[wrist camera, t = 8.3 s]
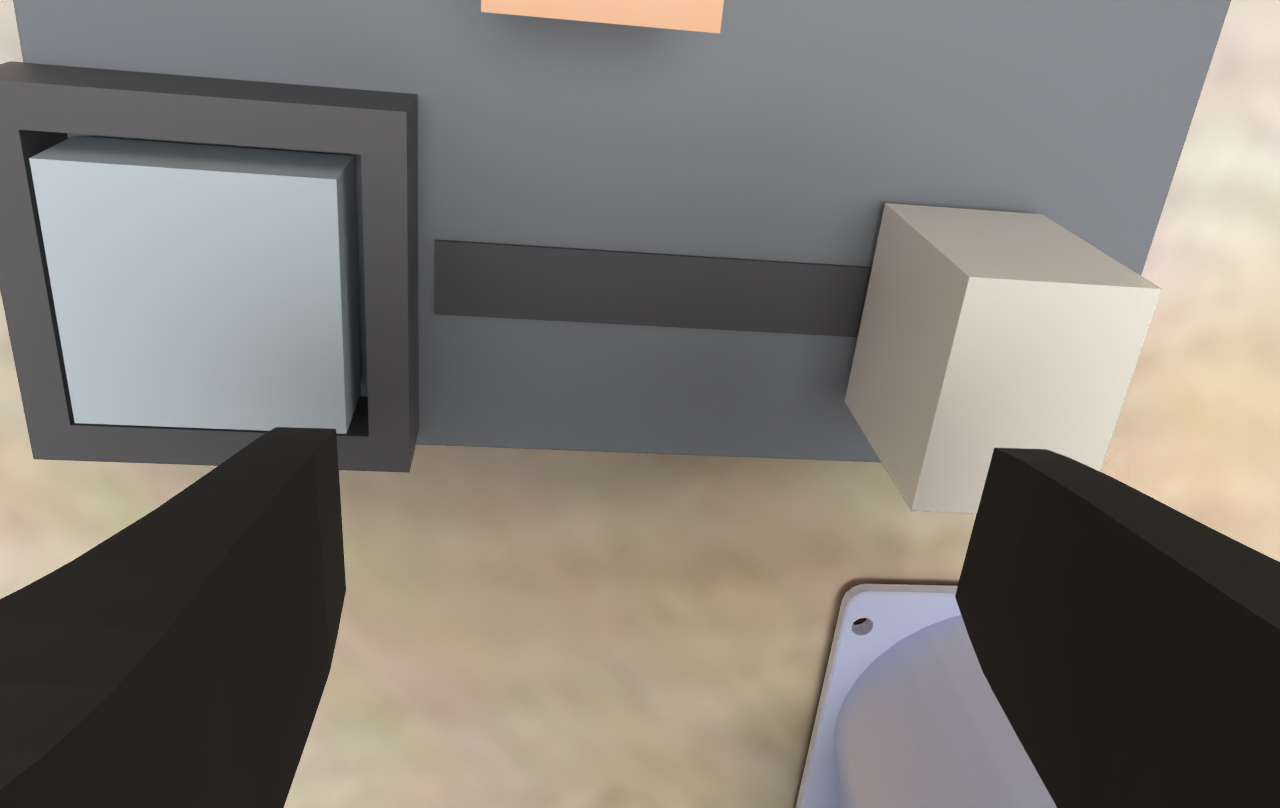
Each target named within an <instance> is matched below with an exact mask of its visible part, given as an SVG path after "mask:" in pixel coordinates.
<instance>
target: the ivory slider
mask: <svg viewBox="0 0 1280 808" xmlns="http://www.w3.org/2000/svg"><path fill="white" fill-rule="evenodd" d="M1161 290H1162V289H1161V288H1159V287H1158V286H1156V285H1155V284H1153V283H1151V282H1150V281H1148V280H1147V279H1145V278H1143V277H1142V276H1140V275H1139V274H1137V273H1135V272H1134V271H1132V270H1131V269H1129V268H1127V267H1126V266H1124V265H1123V264H1121V263H1119V262H1118V261H1116V260H1115V259H1113V258H1111V257H1110V256H1108V255H1107V254H1105V253H1103V252H1102V251H1100V250H1099V249H1097V248H1095V247H1094V246H1092V245H1091V244H1089V243H1087V242H1086V241H1084V240H1083V239H1081V238H1079V237H1078V236H1076V235H1075V234H1073V233H1071V232H1070V231H1068V230H1067V229H1065V228H1063V227H1062V226H1060V225H1059V224H1057V223H1055V222H1054V221H1052V220H1051V219H1049V218H1047V217H1046V216H1044V215H1043V214H1032V213H1018V212H1004V211H990V210H976V209H962V208H948V207H934V206H920V205H906V204H892V203H885V206H884V211H883V216H882V221H881V226H880V230H879V235H878V240H877V245H876V250H875V255H874V260H873V265H872V270H871V275H870V280H869V284H868V289H867V294H866V299H865V304H864V309H863V314H862V319H861V324H860V329H859V334H858V338H857V343H856V348H855V353H854V358H853V363H852V368H851V373H850V378H849V383H848V388H847V392H846V397H845V403H846V405H847V406H848V408H849V410H850V411H851V413H852V415H853V416H854V418H855V420H856V421H857V423H858V425H859V426H860V428H861V429H862V431H863V433H864V434H865V436H866V438H867V439H868V441H869V443H870V444H871V446H872V448H873V449H874V451H875V452H876V454H877V456H878V457H879V459H880V461H881V462H882V464H883V466H884V467H885V469H886V471H887V472H888V474H889V475H890V477H891V479H892V480H893V482H894V484H895V485H896V487H897V489H898V490H899V492H900V494H901V495H902V497H903V498H904V500H905V502H906V503H907V505H908V507H909V508H910V510H911V511H924V512H955V513H977V511H978V507H979V504H980V500H981V496H982V492H983V489H984V485H985V481H986V477H987V473H988V470H989V466H990V462H991V458H992V454H993V451H994V448H1021V449H1047V450H1050V451H1053V452H1055V453H1058V454H1061V455H1064V456H1066V457H1069V458H1071V459H1073V460H1076V461H1078V462H1080V463H1082V464H1085V465H1087V466H1089V467H1091V468H1093V469H1095V470H1097V471H1100V470H1101V467H1102V464H1103V461H1104V458H1105V455H1106V452H1107V449H1108V446H1109V443H1110V441H1111V438H1112V435H1113V432H1114V429H1115V426H1116V423H1117V420H1118V417H1119V414H1120V411H1121V408H1122V405H1123V402H1124V399H1125V396H1126V393H1127V390H1128V387H1129V385H1130V382H1131V379H1132V376H1133V373H1134V370H1135V367H1136V364H1137V361H1138V358H1139V355H1140V352H1141V349H1142V346H1143V343H1144V340H1145V337H1146V334H1147V331H1148V329H1149V326H1150V323H1151V320H1152V317H1153V314H1154V311H1155V308H1156V305H1157V302H1158V299H1159V296H1160V293H1161Z"/></svg>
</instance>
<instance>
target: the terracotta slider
mask: <svg viewBox="0 0 1280 808" xmlns="http://www.w3.org/2000/svg"><path fill="white" fill-rule="evenodd" d="M723 4H724V0H481V12H488V13H499V14H510V15H521V16H532V17H543V18H554V19H565V20H576V21H587V22H598V23H609V24H621V25H632V26H643V27H654V28H665V29H676V30H687V31H698V32H709V33H720V29H721V21H722V12H723Z"/></svg>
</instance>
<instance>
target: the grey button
mask: <svg viewBox="0 0 1280 808" xmlns="http://www.w3.org/2000/svg"><path fill="white" fill-rule="evenodd" d="M29 160H30V166H31V172H32V178H33V184H34V189H35V195H36V201H37V207H38V213H39V218H40V224H41V230H42V236H43V242H44V248H45V253H46V259H47V265H48V271H49V277H50V282H51V288H52V294H53V300H54V306H55V311H56V317H57V323H58V329H59V335H60V341H61V346H62V352H63V358H64V364H65V370H66V375H67V381H68V387H69V393H70V399H71V404H72V410H73V416H74V422H75V423H85V424H110V425H136V426H161V427H186V428H212V429H237V430H262V431H270V430H272V429H274V428H275V427H293V428H327V429H336V433H338V434H346V433H347V431H348V428H349V425H350V422H351V420H352V417H353V414H354V411H355V409H356V406H357V403H358V400H359V398H360V395H361V375H360V343H359V310H358V278H357V246H356V214H355V182H354V156H349V155H335V154H321V153H307V152H293V151H279V150H265V149H252V148H238V147H224V146H210V145H196V144H182V143H168V142H155V141H141V140H127V139H113V138H99V137H85V136H72V137H70V138H68V139H66V140H64V141H62V142H60V143H58V144H56V145H54V146H52V147H51V148H49V149H47V150H45V151H43V152H41V153H39V154H37V155H35V156H33V157H31V158H29Z"/></svg>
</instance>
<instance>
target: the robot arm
mask: <svg viewBox="0 0 1280 808" xmlns="http://www.w3.org/2000/svg"><path fill="white" fill-rule="evenodd" d="M345 591H346V585H345V568H344V552H343V535H342V518H341V502H340V485H339V469H338V452H337V436H336V429H327V428H293V427H275V428H274V429H272V430H270V431H268V432H267V433H265V434H264V435H262V436H260V437H259V438H257V439H256V440H254V441H253V442H252V443H250V444H249V445H247V446H246V447H244V448H243V449H242V450H240V451H239V452H237V453H236V454H234V455H233V456H232V457H230V458H229V459H227V460H226V461H225V462H223V463H222V464H220V465H219V466H218V467H216V468H215V469H213V470H212V471H211V472H209V473H208V474H206V475H205V476H203V477H202V478H200V479H199V480H198V481H196V482H195V483H193V484H192V485H190V486H189V487H187V488H186V489H184V490H183V491H182V492H180V493H179V494H177V495H176V496H174V497H173V498H171V499H170V500H169V501H167V502H166V503H164V504H163V505H161V506H160V507H158V508H157V509H155V510H154V511H152V512H151V513H149V514H147V515H146V516H144V517H143V518H141V519H139V520H138V521H136V522H135V523H133V524H131V525H130V526H128V527H126V528H125V529H123V530H122V531H120V532H118V533H117V534H115V535H114V536H112V537H110V538H109V539H107V540H105V541H104V542H102V543H101V544H99V545H97V546H96V547H94V548H92V549H91V550H89V551H88V552H86V553H84V554H83V555H81V556H80V557H78V558H76V559H75V560H73V561H71V562H70V563H68V564H66V565H64V566H62V567H61V568H59V569H57V570H55V571H54V572H52V573H50V574H48V575H46V576H44V577H43V578H41V579H39V580H37V581H35V582H33V583H31V584H30V585H28V586H26V587H24V588H22V589H20V590H18V591H16V592H14V593H12V594H10V595H8V596H6V597H4V598H2V599H0V808H283V807H284V804H285V802H286V799H287V796H288V793H289V790H290V787H291V784H292V781H293V778H294V775H295V773H296V770H297V767H298V764H299V761H300V758H301V755H302V752H303V749H304V746H305V744H306V741H307V738H308V735H309V732H310V729H311V726H312V723H313V720H314V717H315V714H316V711H317V708H318V705H319V702H320V699H321V696H322V693H323V690H324V687H325V684H326V681H327V678H328V675H329V672H330V668H331V663H332V658H333V653H334V649H335V644H336V639H337V634H338V629H339V623H340V618H341V613H342V607H343V602H344V597H345ZM860 618H867V620H866V621H865V622H863V623H862V624H858V625H854V624H853V623H854V622H855V621H856V620H858V619H860ZM796 808H1280V562H1279V561H1276V560H1274V559H1272V558H1270V557H1268V556H1266V555H1264V554H1262V553H1260V552H1258V551H1256V550H1254V549H1251V548H1249V547H1247V546H1245V545H1243V544H1241V543H1239V542H1237V541H1235V540H1233V539H1231V538H1229V537H1227V536H1225V535H1223V534H1221V533H1219V532H1217V531H1215V530H1213V529H1211V528H1209V527H1207V526H1206V525H1204V524H1202V523H1200V522H1198V521H1196V520H1194V519H1192V518H1190V517H1188V516H1186V515H1184V514H1182V513H1180V512H1178V511H1176V510H1174V509H1172V508H1171V507H1169V506H1167V505H1165V504H1163V503H1161V502H1159V501H1157V500H1155V499H1153V498H1151V497H1149V496H1147V495H1145V494H1143V493H1141V492H1139V491H1138V490H1136V489H1134V488H1132V487H1130V486H1128V485H1126V484H1124V483H1122V482H1120V481H1118V480H1116V479H1114V478H1112V477H1110V476H1108V475H1106V474H1104V473H1102V472H1100V471H1097V470H1095V469H1093V468H1091V467H1089V466H1087V465H1085V464H1082V463H1080V462H1078V461H1076V460H1073V459H1071V458H1069V457H1066V456H1064V455H1061V454H1058V453H1055V452H1053V451H1050V450H1047V449H1021V448H994V451H993V454H992V458H991V462H990V466H989V470H988V473H987V477H986V481H985V485H984V489H983V492H982V496H981V500H980V504H979V507H978V511H977V515H976V519H975V523H974V526H973V530H972V534H971V538H970V542H969V545H968V549H967V553H966V557H965V561H964V564H963V568H962V572H961V576H960V580H959V583H958V586H943V585H901V584H860V585H857V586H855V587H853V588H851V589H850V590H848V591H847V592H846V593H845V595H844V597H843V599H842V603H841V607H840V612H839V616H838V621H837V625H836V629H835V634H834V638H833V643H832V647H831V652H830V656H829V661H828V665H827V670H826V674H825V679H824V683H823V687H822V692H821V696H820V701H819V705H818V710H817V714H816V719H815V723H814V728H813V732H812V737H811V741H810V745H809V750H808V754H807V759H806V763H805V768H804V772H803V777H802V781H801V786H800V790H799V795H798V799H797V804H796Z"/></svg>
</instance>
